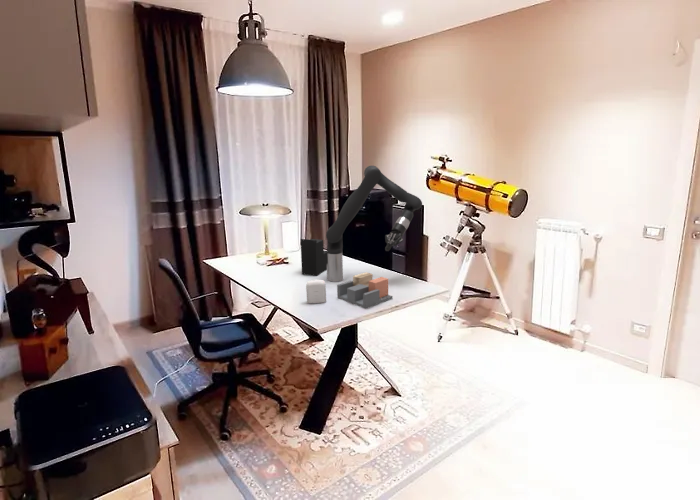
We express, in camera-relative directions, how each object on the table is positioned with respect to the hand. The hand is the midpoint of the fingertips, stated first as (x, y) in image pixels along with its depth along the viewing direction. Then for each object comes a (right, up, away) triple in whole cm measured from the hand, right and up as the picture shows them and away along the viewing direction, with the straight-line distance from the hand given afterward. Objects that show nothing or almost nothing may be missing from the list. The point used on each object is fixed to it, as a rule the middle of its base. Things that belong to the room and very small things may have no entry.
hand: (386, 250), depth 245 cm
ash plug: (-14, -22, -8) cm, 28 cm away
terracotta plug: (-6, -24, -16) cm, 30 cm away
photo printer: (-39, -28, -19) cm, 51 cm away
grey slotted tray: (-13, -26, -15) cm, 33 cm away
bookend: (-43, -14, +37) cm, 58 cm away
